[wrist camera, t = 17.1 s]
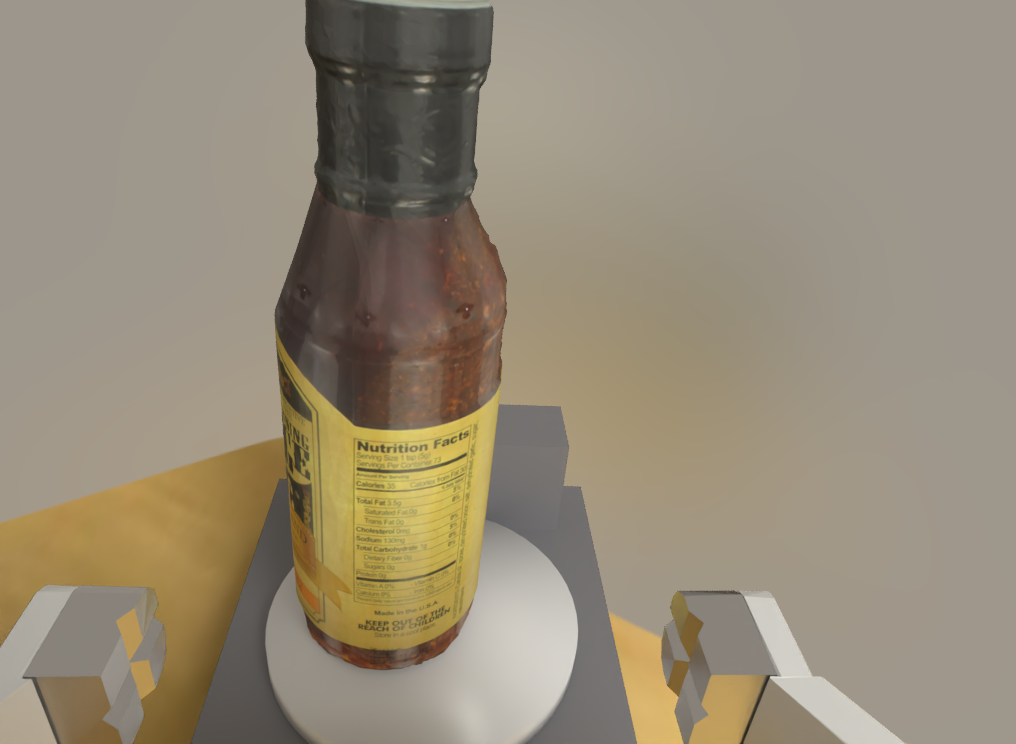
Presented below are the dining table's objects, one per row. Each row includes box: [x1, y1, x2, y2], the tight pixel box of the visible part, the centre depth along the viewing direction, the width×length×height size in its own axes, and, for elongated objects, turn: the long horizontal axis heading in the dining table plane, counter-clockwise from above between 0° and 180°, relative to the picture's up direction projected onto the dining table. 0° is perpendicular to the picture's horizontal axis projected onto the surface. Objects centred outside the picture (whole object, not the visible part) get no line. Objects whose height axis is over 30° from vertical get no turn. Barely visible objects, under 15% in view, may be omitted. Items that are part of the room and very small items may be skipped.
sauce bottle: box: [275, 0, 507, 670], centre depth 21 cm, size 7×6×20 cm
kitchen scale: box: [191, 404, 637, 744], centre depth 28 cm, size 14×14×8 cm
